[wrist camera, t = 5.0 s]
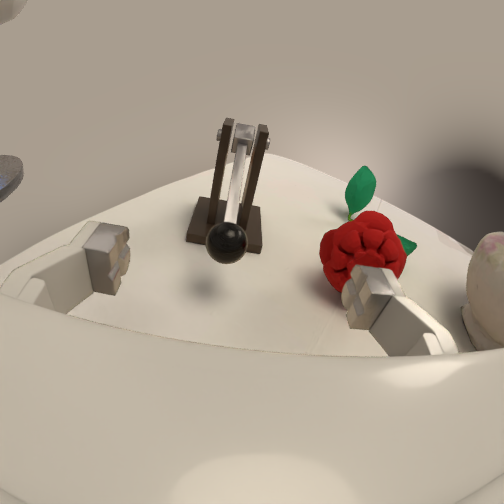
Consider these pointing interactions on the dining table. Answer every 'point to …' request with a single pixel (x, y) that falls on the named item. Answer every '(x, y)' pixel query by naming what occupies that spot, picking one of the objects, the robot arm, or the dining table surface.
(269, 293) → the dining table surface
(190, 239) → the bracket
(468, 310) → the ceramic pitcher
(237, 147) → the lever
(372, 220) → the decorative flower
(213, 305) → the dining table surface
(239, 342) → the dining table surface
